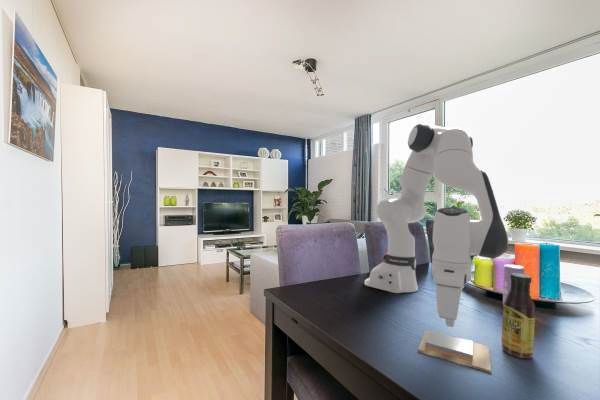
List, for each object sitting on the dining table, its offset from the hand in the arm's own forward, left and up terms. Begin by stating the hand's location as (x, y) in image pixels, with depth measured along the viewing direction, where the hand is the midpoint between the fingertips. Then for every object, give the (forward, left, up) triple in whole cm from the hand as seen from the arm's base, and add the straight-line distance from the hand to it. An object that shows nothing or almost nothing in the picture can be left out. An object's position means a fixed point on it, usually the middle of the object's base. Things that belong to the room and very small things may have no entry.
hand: (450, 324), depth 70 cm
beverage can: (+17, +44, -6) cm, 48 cm away
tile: (0, +2, -5) cm, 5 cm away
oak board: (+1, 0, -6) cm, 6 cm away
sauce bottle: (+14, +7, -6) cm, 17 cm away
